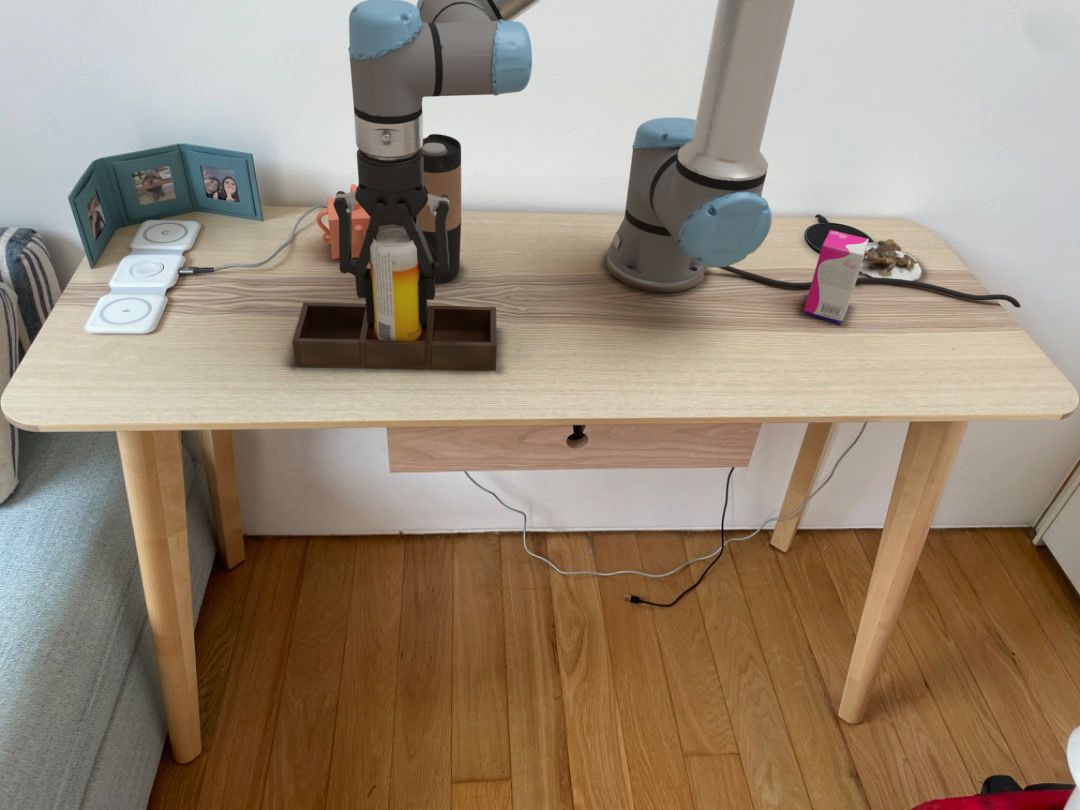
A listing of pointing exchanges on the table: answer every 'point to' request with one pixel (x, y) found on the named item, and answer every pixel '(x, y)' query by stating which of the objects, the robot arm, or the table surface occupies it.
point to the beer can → (395, 285)
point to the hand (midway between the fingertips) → (397, 317)
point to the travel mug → (438, 181)
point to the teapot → (358, 226)
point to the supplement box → (835, 276)
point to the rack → (352, 343)
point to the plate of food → (889, 262)
